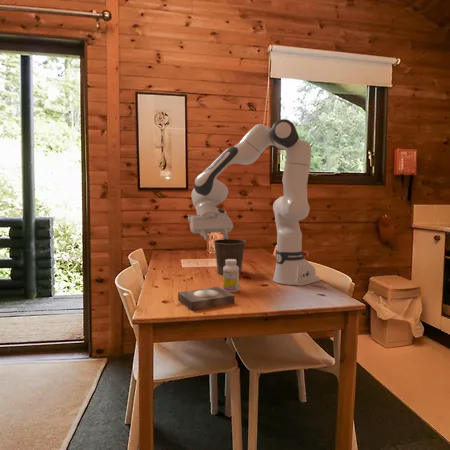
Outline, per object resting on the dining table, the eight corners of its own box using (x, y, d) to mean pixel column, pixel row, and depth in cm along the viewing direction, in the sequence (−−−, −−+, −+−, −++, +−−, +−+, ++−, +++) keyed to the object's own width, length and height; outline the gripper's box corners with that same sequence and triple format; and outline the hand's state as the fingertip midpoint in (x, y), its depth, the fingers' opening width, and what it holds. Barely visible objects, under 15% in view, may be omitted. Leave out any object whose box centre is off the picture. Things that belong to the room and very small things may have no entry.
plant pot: (242, 277, 165) (243, 244, 164) (210, 275, 168) (210, 242, 167) (247, 270, 181) (247, 239, 180) (217, 268, 184) (217, 238, 183)
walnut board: (218, 294, 138) (218, 286, 138) (234, 303, 127) (234, 294, 126) (178, 300, 130) (178, 291, 130) (191, 310, 119) (191, 301, 118)
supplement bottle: (229, 287, 148) (229, 257, 147) (242, 290, 144) (242, 259, 142) (219, 290, 143) (219, 260, 141) (232, 293, 138) (232, 262, 137)
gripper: (188, 210, 153) (197, 235, 145) (228, 210, 162) (239, 233, 155) (184, 219, 157) (192, 244, 149) (224, 219, 167) (233, 242, 159)
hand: (216, 238), depth 152 cm, fingers open, 8 cm apart
